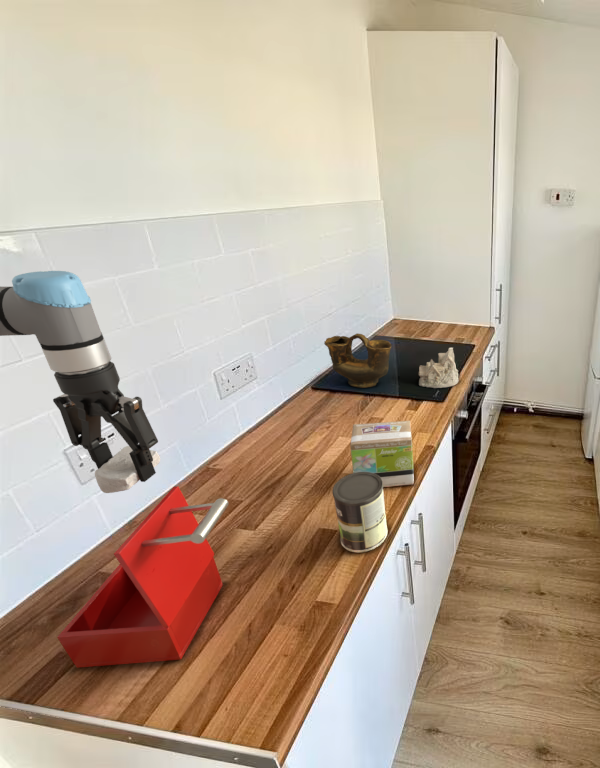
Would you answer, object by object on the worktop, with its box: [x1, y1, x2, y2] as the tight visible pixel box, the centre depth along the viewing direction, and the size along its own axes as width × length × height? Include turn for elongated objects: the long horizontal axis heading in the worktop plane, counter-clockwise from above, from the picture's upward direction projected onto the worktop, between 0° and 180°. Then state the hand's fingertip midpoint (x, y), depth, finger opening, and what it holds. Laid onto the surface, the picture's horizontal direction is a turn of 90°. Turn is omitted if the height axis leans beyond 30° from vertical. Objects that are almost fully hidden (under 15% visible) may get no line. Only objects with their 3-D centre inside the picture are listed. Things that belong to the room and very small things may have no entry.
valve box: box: [56, 557, 224, 669], centre depth 76 cm, size 16×15×8 cm
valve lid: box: [113, 485, 230, 628], centre depth 71 cm, size 16×15×10 cm
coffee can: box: [331, 472, 389, 554], centre depth 95 cm, size 10×10×14 cm
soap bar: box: [94, 445, 161, 494], centre depth 82 cm, size 10×6×6 cm, turn 178°
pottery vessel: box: [324, 333, 393, 389], centre depth 163 cm, size 25×11×20 cm, turn 85°
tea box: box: [349, 420, 415, 488], centre depth 114 cm, size 15×10×15 cm, turn 104°
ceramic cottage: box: [418, 347, 459, 389], centre depth 170 cm, size 16×16×15 cm
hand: (129, 475), depth 83 cm, fingers closed on soap bar, 7 cm apart
